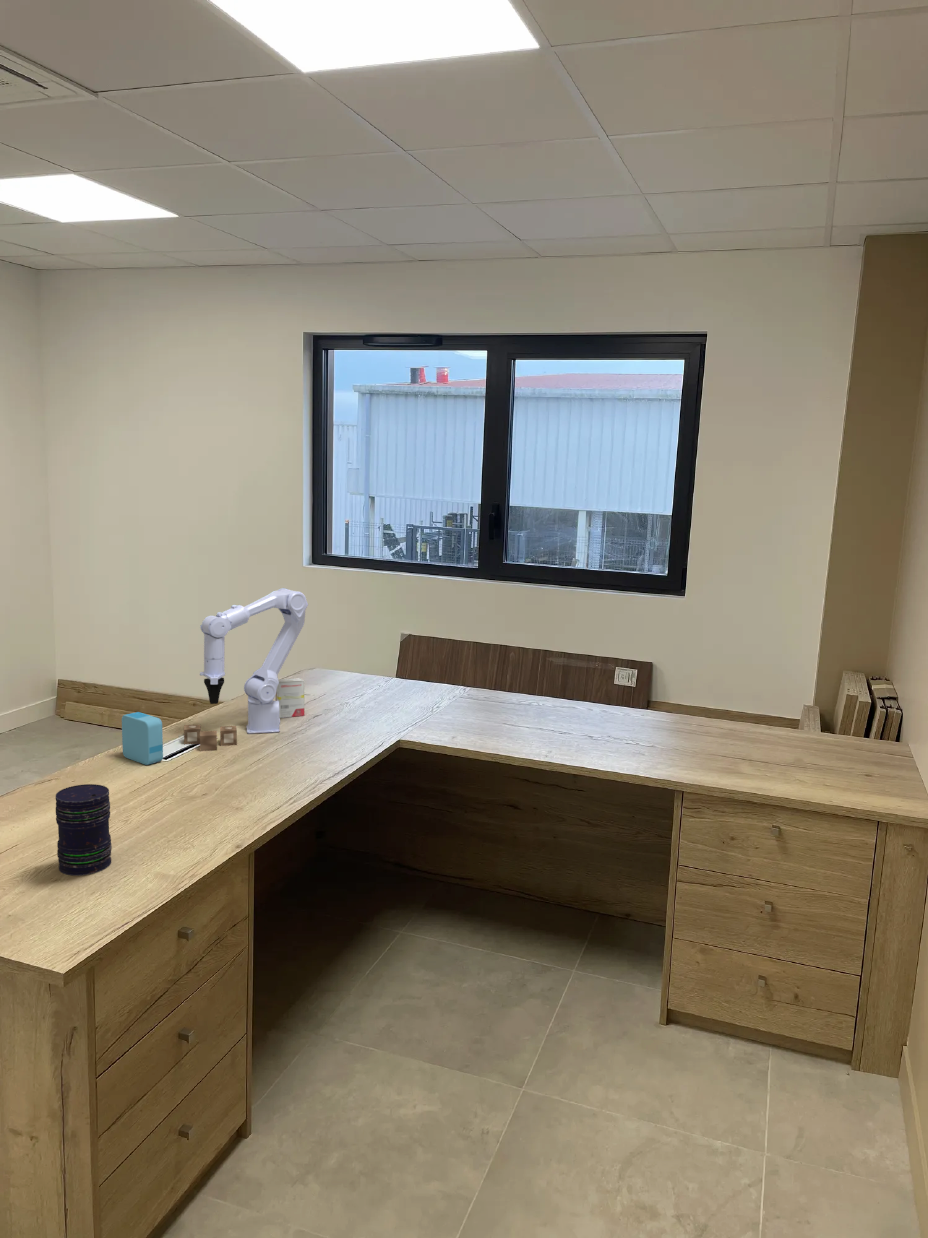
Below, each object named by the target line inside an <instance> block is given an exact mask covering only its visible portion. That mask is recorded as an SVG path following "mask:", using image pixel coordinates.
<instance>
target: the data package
mask: <svg viewBox="0 0 928 1238" xmlns="http://www.w3.org/2000/svg"><path fill="white" fill-rule="evenodd" d="M121 738H122V739H121V743H122V755H123V757H125V758H126V759H129V760H132V761H134V762H137V763H140V764H143V765H145V766H149V765H153V764H155V763H160V762H162V761H163V759H164V746H163V744H164V741H163V740H164V739H163V722H162V720H161V718H159V717H157V716H154V715H149V714H147V713H142V712H140V711H136V712H132V713H126V714H123V715H122V717H121Z"/></svg>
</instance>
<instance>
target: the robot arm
mask: <svg viewBox="0 0 928 1238" xmlns="http://www.w3.org/2000/svg"><path fill="white" fill-rule="evenodd" d="M308 606H309V603H308V600H307V597H306V595H305V594H304V593H303V592H302V591H298V590H292V589H289V588H285V587H282V588H281V587H280V588H279V589H277V590H273V591H271V592H270V593H269V594H267V595H265V596H262V597H261V598H259V599H257V600H255V601H253V602H251V603H249V604H247V605H245V606H243V605H241V604H238V605H236V604H233V605H231V606H230V608H229V609H226V610H224V611H218V612H216V615H208V616H206V617H205V618H204V619H203V620H202V622H201V625H200V627H199V628H200V630H201V632H202V633H203V671H199V676H203V677H205V678H203V683H204V685H205V687H206V690H207V693H208V694H207V695H208V699H209V704H210V705H218V703H219V700H220V695H221V690H222V687H223V685H224V684H225V678H224V676H226V672H225V645H226V644H225V642H226V641H225V636H227V635H228V634H229V633H228V632H230V631H231V630H235V629H237V628H238V627H240V626H243V625H245V624H247V623H248V622H249V620H250V617H252V616H256V615H258V614H261V613H264V612H265V611H268V610H271V609H273V608H274V609H278V610H279V612H280V613H281V614H282V618H283V620H284V624H283V625H282V627H281V628H280V631H279V633H278V634H277V637H276V639H275V640H274V643H273V644H272V646H271V648H270V650H269V652H268V653H267V655H266V657H265V659H264V662H263V663H262V666H260V668H258V669H256V670H255V671H253V673H252V675H251V676H250V677H249V678H247V679H246V681H245V683H244V686H243V691H244V694H245V695H246V696H247V724H246V726H245V727H246V733H247V734H262V733H279V732H280V725H281V718H279V701H275V700H274V699H275V696H276V690H277V686H278V684H279V680H278V679H279V678H278V675H279V674H280V671H281V669H282V667H283V666H284V664H285V662H286V660H287V658H288V655H289V654H290V652H291V650H292V648H293V646H294V645H295V643H296V641H297V639H298V637H299V635H300V633H301V631H302V629H303V627H304V625H305V620H306V619H305V618H306V610H307V608H308Z"/></svg>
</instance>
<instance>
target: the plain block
mask: <svg viewBox="0 0 928 1238" xmlns="http://www.w3.org/2000/svg"><path fill="white" fill-rule="evenodd" d="M217 731H218V730H201V731H200V744H199V751H200V752H210V751H215V752H216V751H217V750H218V736H217V735H218V734H217V733H218V732H217Z"/></svg>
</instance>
